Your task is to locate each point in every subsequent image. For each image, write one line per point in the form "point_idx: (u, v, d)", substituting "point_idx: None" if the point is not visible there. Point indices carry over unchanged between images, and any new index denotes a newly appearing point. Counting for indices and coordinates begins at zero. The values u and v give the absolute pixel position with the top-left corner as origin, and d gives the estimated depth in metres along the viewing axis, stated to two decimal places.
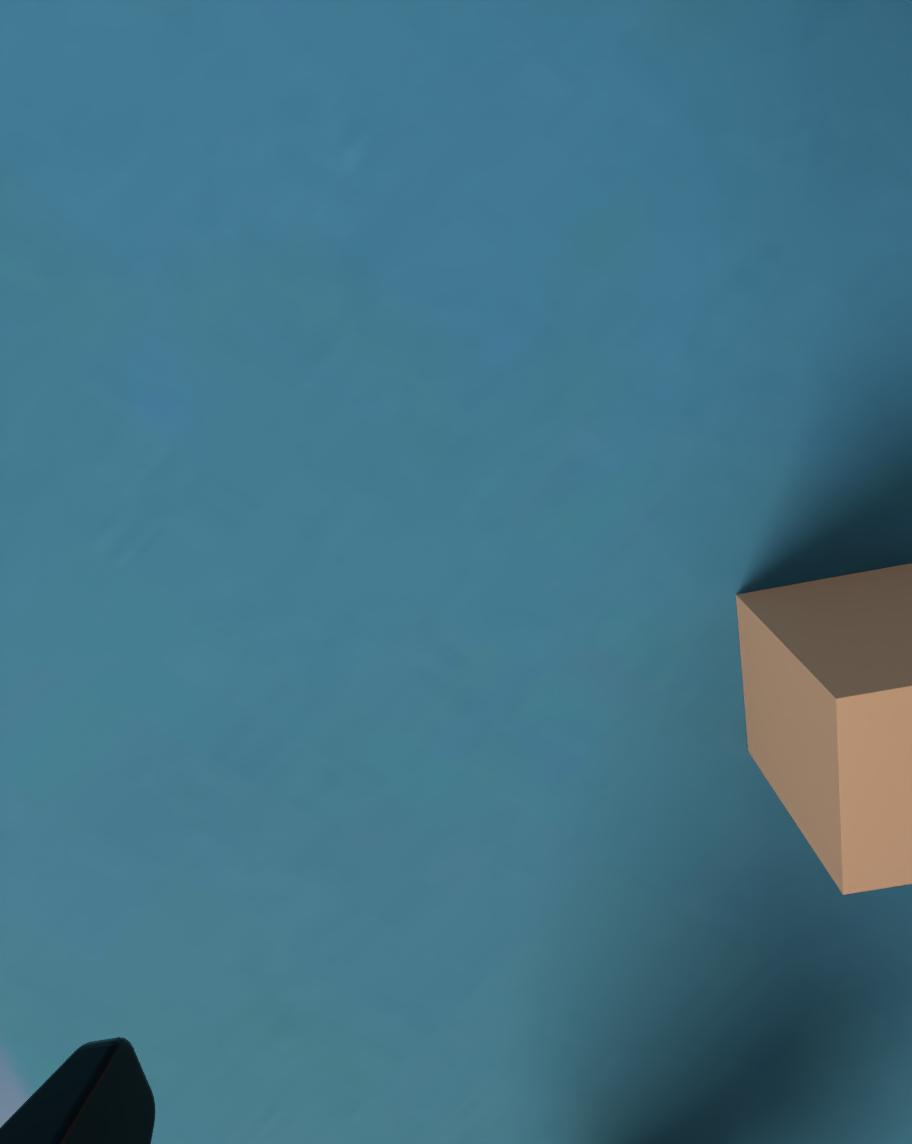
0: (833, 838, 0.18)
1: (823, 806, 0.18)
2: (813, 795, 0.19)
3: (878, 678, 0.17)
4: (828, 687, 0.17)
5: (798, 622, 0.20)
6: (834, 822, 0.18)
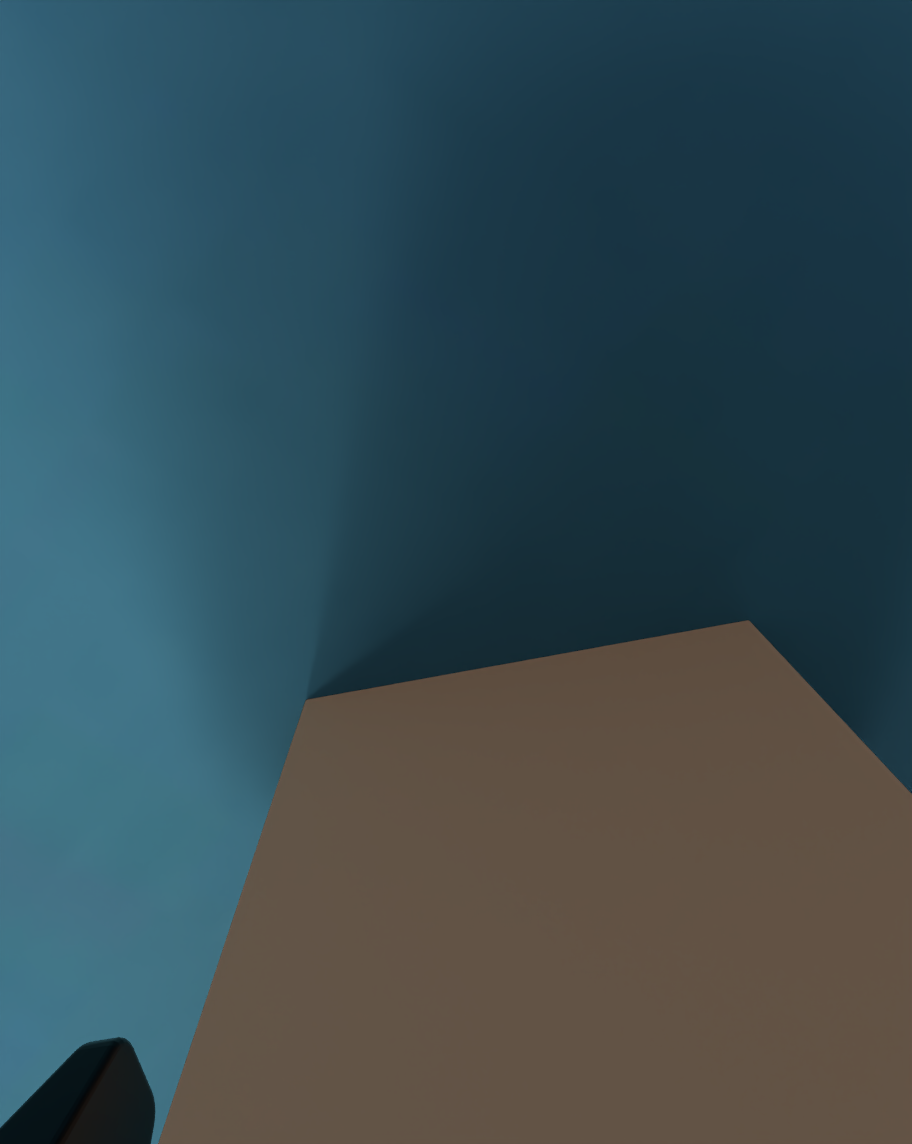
0: None
1: None
2: None
3: None
4: None
5: (346, 813, 0.07)
6: None
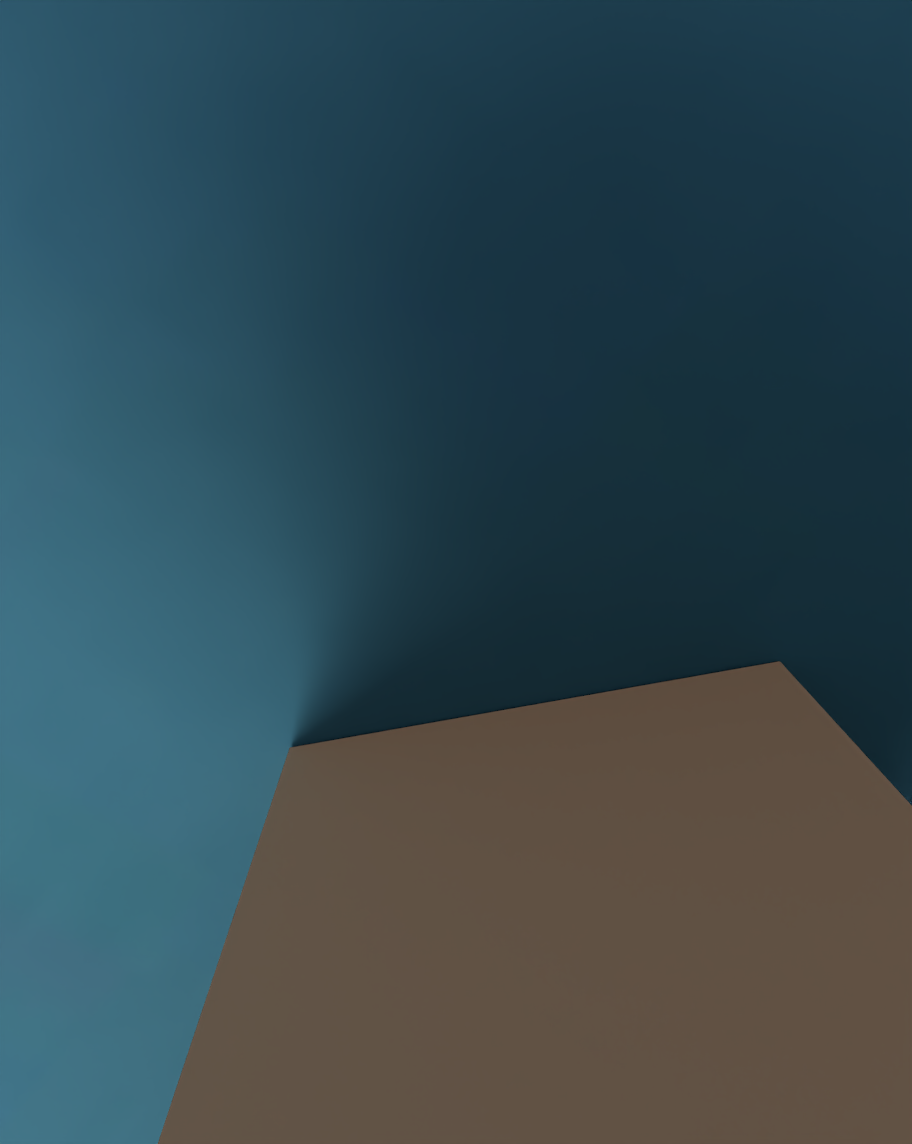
0: None
1: None
2: None
3: None
4: None
5: (330, 899, 0.06)
6: None
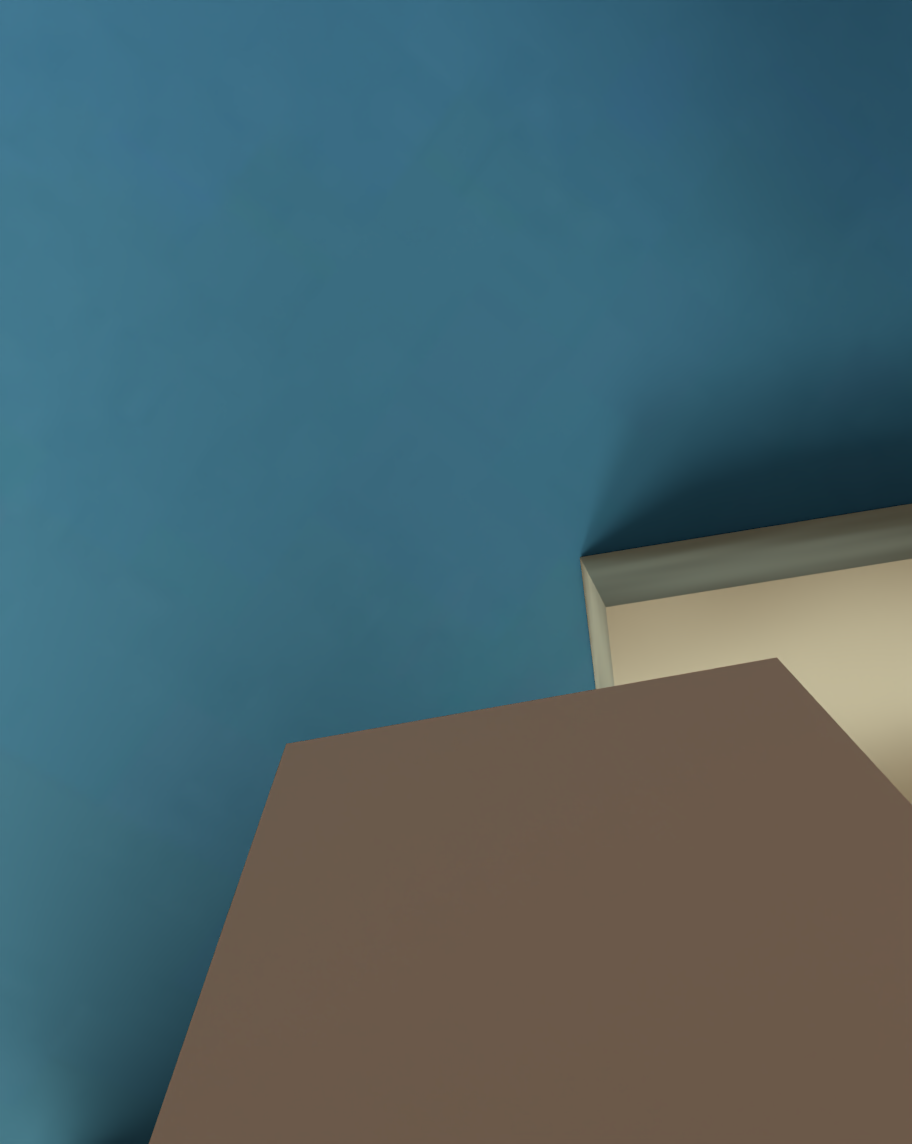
0: None
1: None
2: None
3: None
4: None
5: (325, 894, 0.06)
6: None
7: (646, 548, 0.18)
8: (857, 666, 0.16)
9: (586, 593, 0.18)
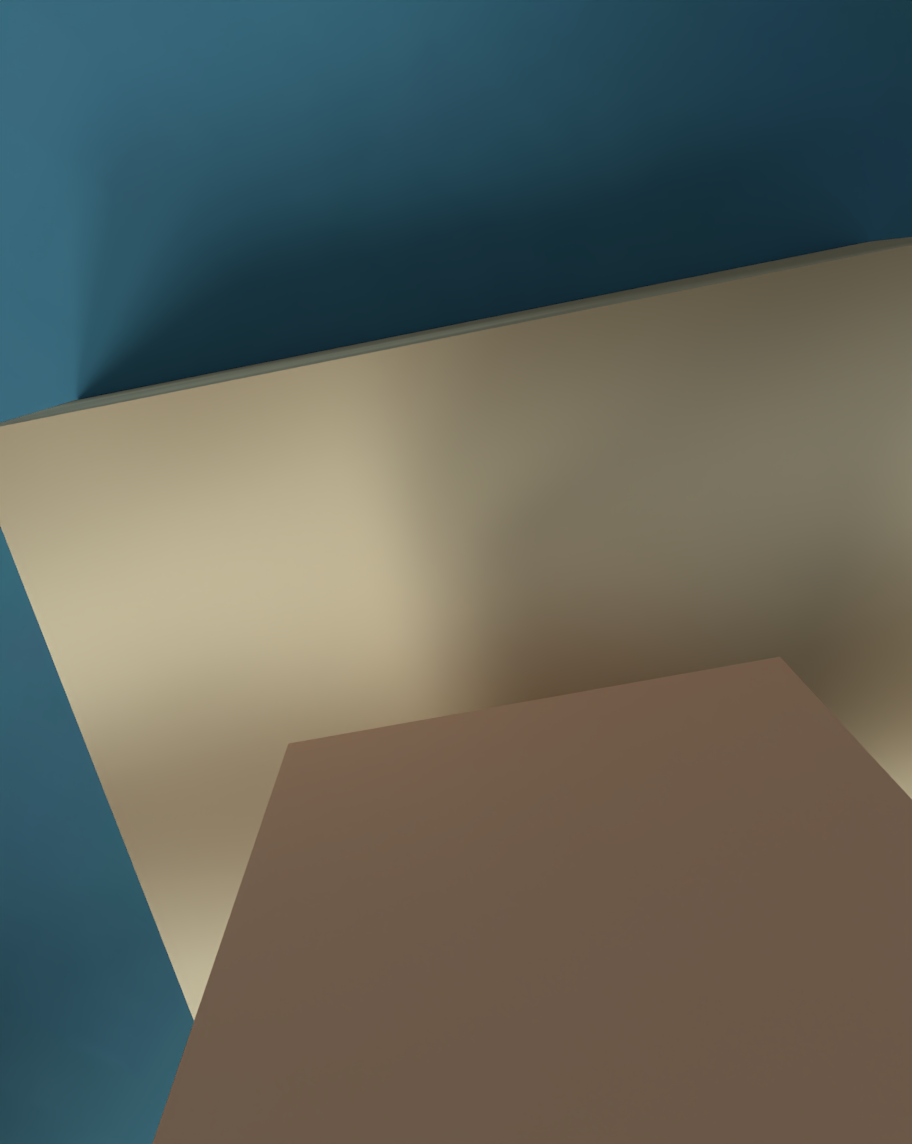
0: None
1: None
2: None
3: None
4: None
5: (328, 895, 0.06)
6: None
7: (163, 383, 0.12)
8: (388, 524, 0.10)
9: None
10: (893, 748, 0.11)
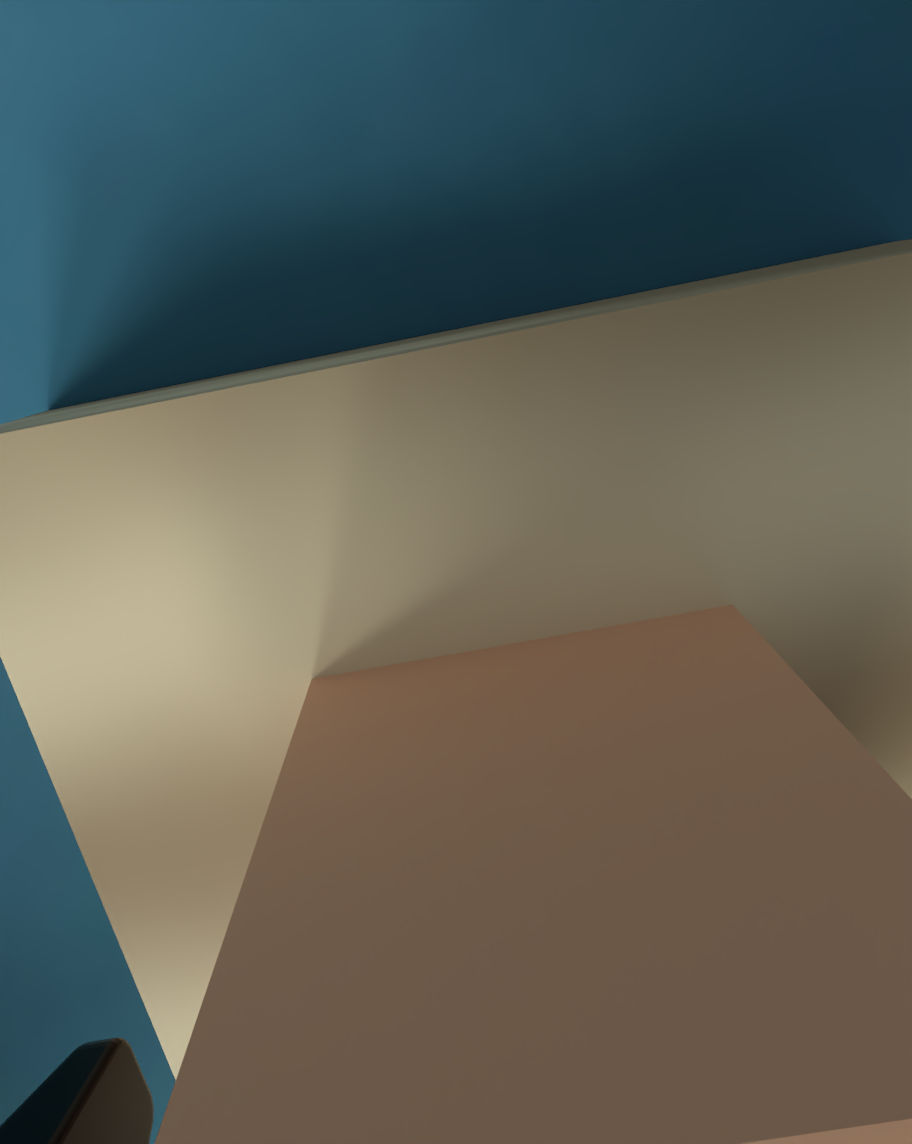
0: None
1: None
2: None
3: (355, 1106, 0.04)
4: (167, 1134, 0.04)
5: (350, 782, 0.07)
6: None
7: (140, 392, 0.11)
8: (380, 548, 0.09)
9: None
10: None
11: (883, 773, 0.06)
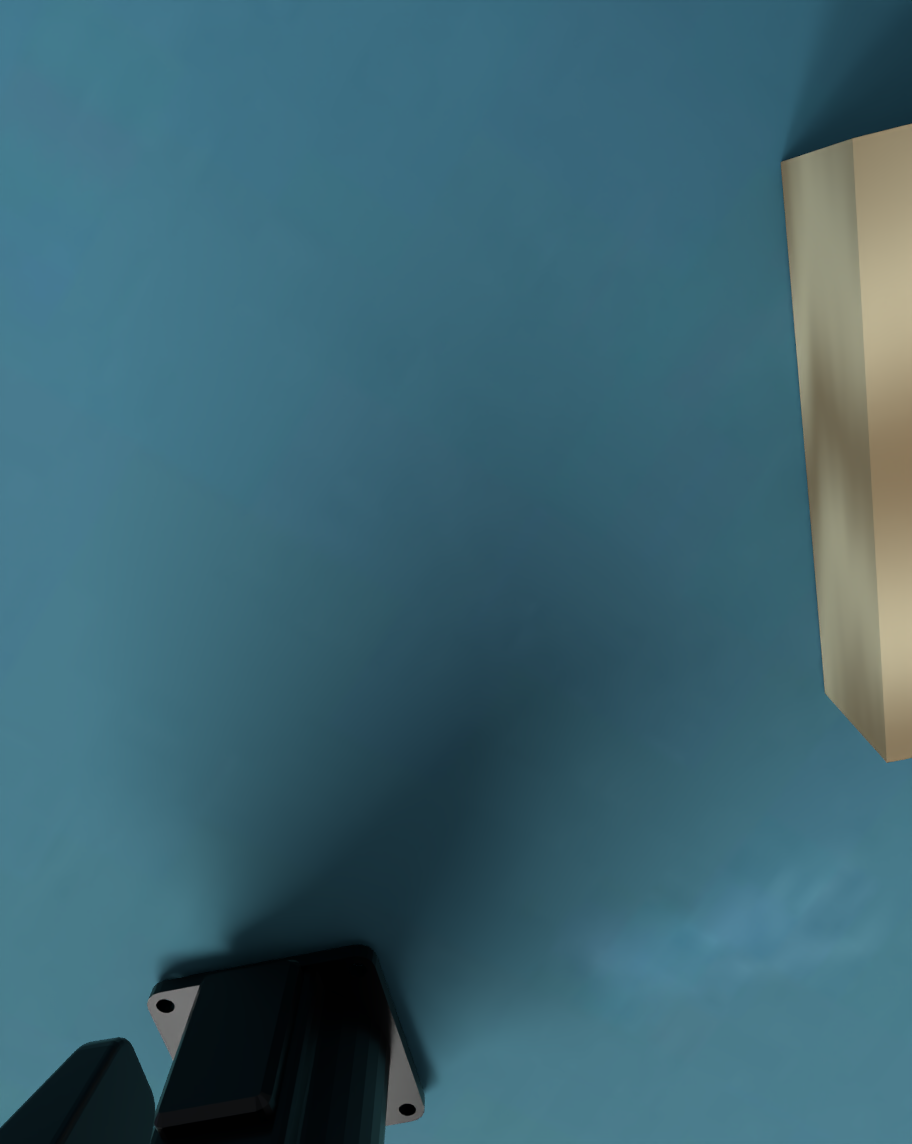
0: None
1: None
2: None
3: None
4: None
5: None
6: None
7: None
8: None
9: (791, 200, 0.16)
10: None
11: None
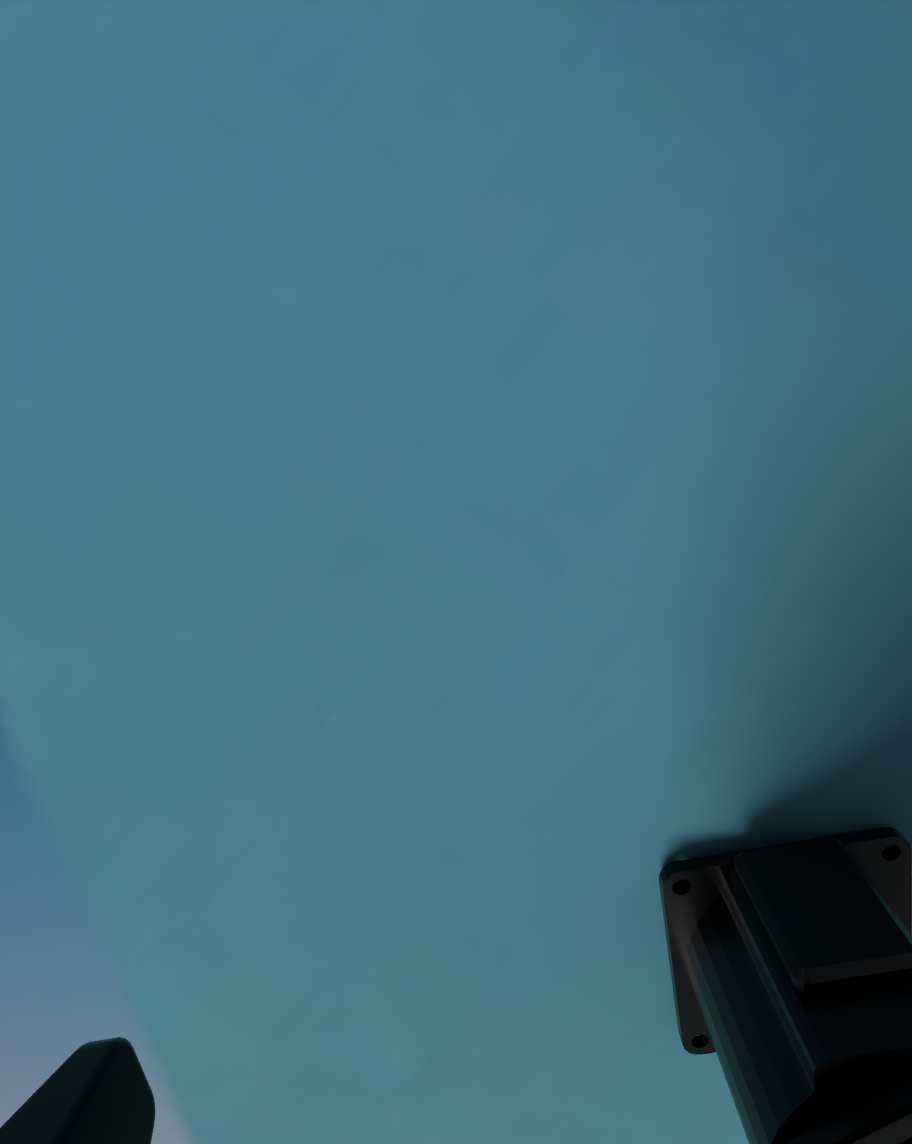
0: None
1: None
2: None
3: None
4: None
5: None
6: None
7: None
8: None
9: None
10: None
11: None
